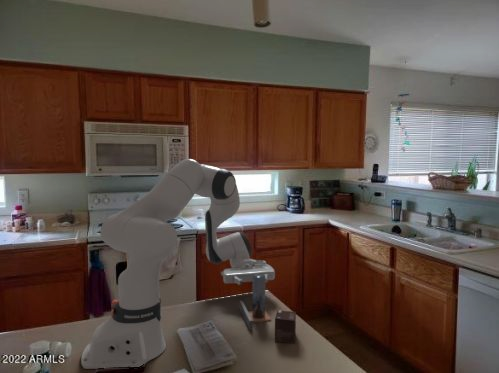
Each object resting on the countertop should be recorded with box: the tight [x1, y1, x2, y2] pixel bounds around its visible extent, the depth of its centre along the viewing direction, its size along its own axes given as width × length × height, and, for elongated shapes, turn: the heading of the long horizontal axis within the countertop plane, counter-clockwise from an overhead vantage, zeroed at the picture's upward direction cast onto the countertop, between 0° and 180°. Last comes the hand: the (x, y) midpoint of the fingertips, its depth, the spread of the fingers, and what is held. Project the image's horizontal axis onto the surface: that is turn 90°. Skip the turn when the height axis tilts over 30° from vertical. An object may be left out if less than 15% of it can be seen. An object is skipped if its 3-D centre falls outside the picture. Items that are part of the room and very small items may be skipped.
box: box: [274, 310, 297, 344], centre depth 108 cm, size 6×6×7 cm
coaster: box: [248, 309, 272, 323], centre depth 122 cm, size 7×7×1 cm
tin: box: [251, 274, 266, 319], centre depth 121 cm, size 4×4×14 cm
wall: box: [239, 300, 254, 331], centre depth 120 cm, size 1×16×3 cm, turn 13°
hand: (253, 282), depth 129 cm, fingers open, 8 cm apart
